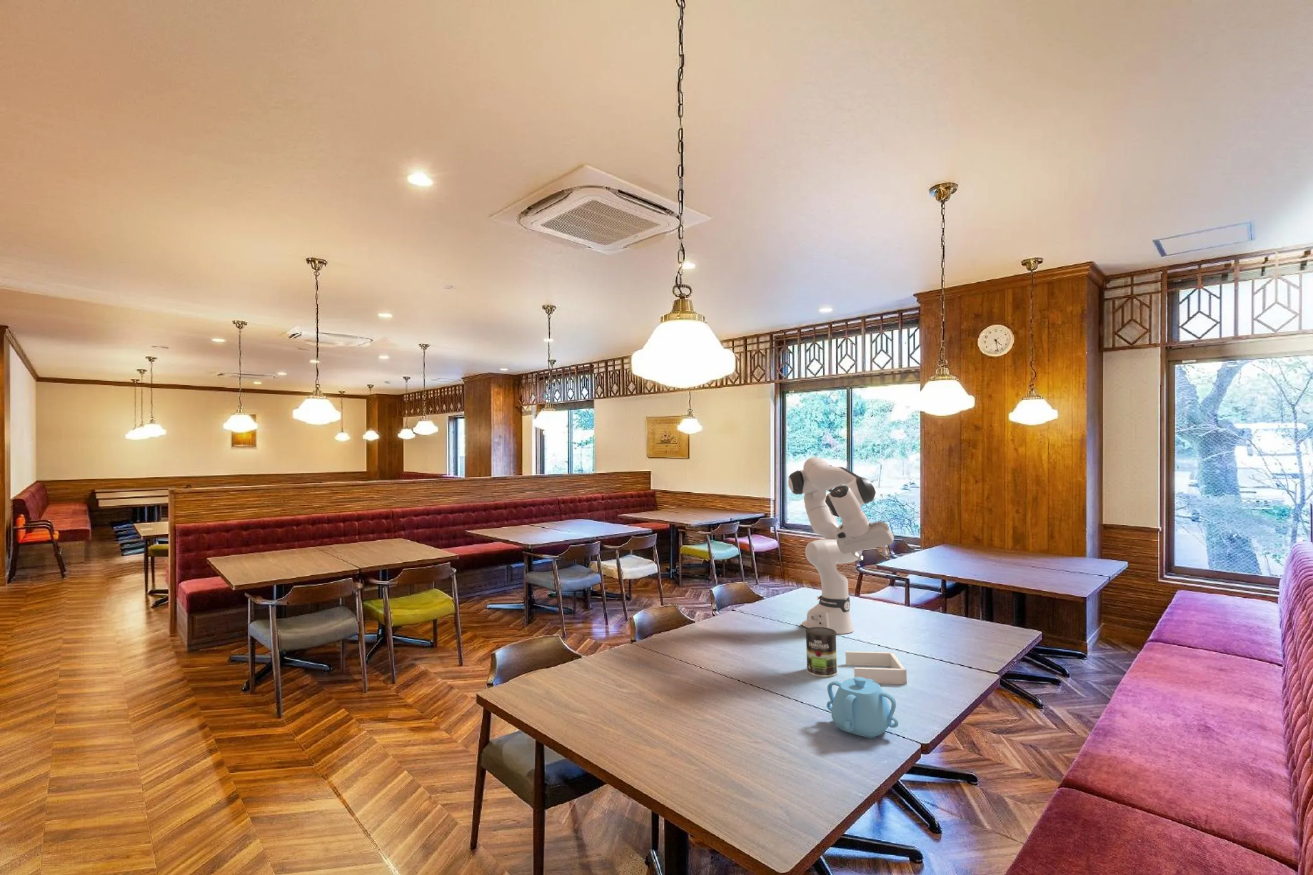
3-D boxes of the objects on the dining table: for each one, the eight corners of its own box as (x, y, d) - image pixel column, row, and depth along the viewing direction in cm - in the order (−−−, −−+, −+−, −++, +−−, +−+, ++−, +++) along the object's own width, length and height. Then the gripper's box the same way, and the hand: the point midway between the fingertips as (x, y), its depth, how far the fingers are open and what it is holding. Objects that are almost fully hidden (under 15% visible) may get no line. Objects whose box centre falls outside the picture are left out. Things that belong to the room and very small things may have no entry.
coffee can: (834, 679, 192) (833, 636, 192) (803, 674, 196) (802, 633, 197) (840, 669, 201) (838, 628, 201) (810, 664, 206) (809, 625, 206)
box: (855, 682, 189) (854, 668, 189) (845, 663, 206) (845, 651, 206) (906, 684, 186) (906, 670, 186) (893, 665, 203) (892, 652, 204)
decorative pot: (824, 715, 165) (822, 668, 166) (880, 714, 165) (878, 666, 165) (840, 743, 149) (838, 690, 149) (903, 742, 148) (900, 689, 149)
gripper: (886, 515, 208) (901, 546, 211) (834, 528, 220) (849, 557, 222) (883, 524, 203) (900, 556, 205) (830, 536, 215) (846, 567, 217)
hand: (873, 557), depth 214 cm, fingers open, 8 cm apart
